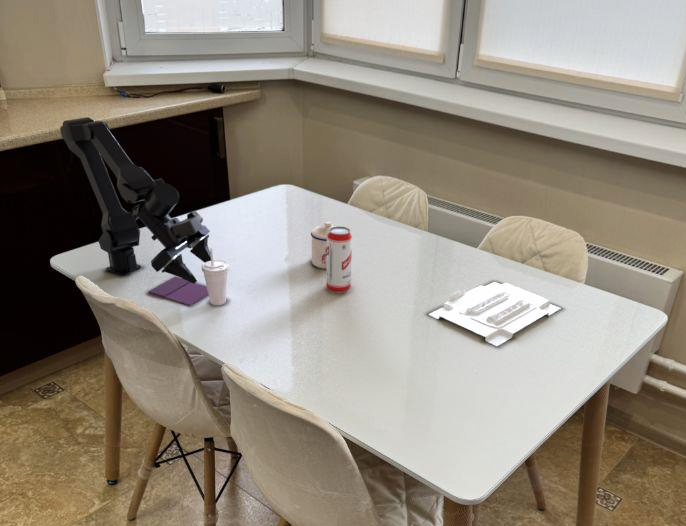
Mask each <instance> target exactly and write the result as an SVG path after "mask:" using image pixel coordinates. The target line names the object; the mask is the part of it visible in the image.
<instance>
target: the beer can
mask: <svg viewBox="0 0 686 526" xmlns="http://www.w3.org/2000/svg"><path fill="white" fill-rule="evenodd" d="M329 231H330V232H329V234H328V235H327V269H326V271H325V272H326V277H325V279H326V280H325V281H326V283H325V285H326V288H327V290H328V291H329V292H331V293H333V294H345V293H347V292H348V291H349V290H350V289H351V286H352V260H353V259H352V258H353V255H352V254H353V235H352V234H351V229H350V228H348V227H345V226H340V225H339V226H335V227H332V228H330V230H329Z"/></svg>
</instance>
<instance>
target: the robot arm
mask: <svg viewBox="0 0 686 526" xmlns="http://www.w3.org/2000/svg"><path fill="white" fill-rule="evenodd" d="M59 131H60V135H61V138H62V140H63V141H64V142H65V144H66V145H67V148H68V149H69V151H71V152H72V153H73V154H75V156H77V157H78V158H79V159H80V162H81V164H82V166H83V169H84V171H85V174H86V176H87V178H88V181H89V183H90V186H91V188H92V191H93V193H94V195H95V197H96V198H95V199H96V200H97V202H98V206H99V208H100V210H101V212H102V219H101V224H100V226H101V231H102V234H101V235H100V237H99V239H98V245H99V247H100V250H102V251H104V252H106V253H107V256H108V262H109V266H108V267H106V268H105V271H106V272H110V273H113V274H117V275H119V276H123V277H124V276H128V274H130V273H133V272H134V271H137V270H139V269H141V267H142V266H141V264H137V257H136V254H135V250H134V249H135V248H134V247H138V246H140V238H141V230H140V228H139V225H138V223H137V222H136V220H138V219H139V220H140V222H141V223H142V224H143V225H144V226H145V227H146V228H147V229H148V230H149V232H150V233H151V234H152V236H151V237H150V238H151V239H152V240H153V241H156V240H157V241H158V242H159V243H160V244H161V245H162V246H163V247H164V248H163V249H161V250H160V251H159V252H158V253H157V254H156V255H155V257H153V258H152V259H151V260H150V265H151V266H150V267H152V269H153V270H154V271H155V272H156V273H158V272H159V271H161V273H166V274H169V275H173V276H174V277H178V278H182V279H184V280H187V281H189V282H191V283H194V284H195V283H196V284H197V282H198V280H197V278H196V276H195V275H194V274H193V273H192V271H191V270H190V269H189V268H188V267H187V265H186V264H185V263H184V261H183V255H182V254H183V253H181V252H182V251H184V250H185V249H187V248H188V249H190V250H189V252H190V253H191V254H192V255H194V256H195V258H198V259H199V260H200V261H201V262H203V264H204V263H205V262H208V261H211V254H210V248H209V244H208V240H209V237H210V234H209V233H210V232H211V230H210V229H209V228H208V227H207V226H206V225H204V224H202V223H203V221H204V217H203V216H201V214H199V212H198V211H196V210H194V211H191V212H189V213H187V214H186V218H185V219H183V220H181V221H180V219H179V218H178V217H171V216H170V215H169V214H170V213H171V212H172V210H174V208H175V206H176V205H177V204H178V203H179V201H180V193H179V191H178V189H176V188H175V187H174V186H173V185H171V184H169V183H166V182H165V181H164V180H163V178H158V179H153V178H152V177H151V175H150V174H149V173H148V172H147V171H146V170H145V169H144V168H143V167H140V166H138V165H136V164H134V163H133V162H132V160H131V159H130V157H129V156H128V155H127V153H126V152H125V150H124V149H123V147H122V146H121V145H120V144H119V142H118V140H117V139H116V138H115V136H114V135H113V134H112V132H111V131H110V127H109V125H108V123H107V122H106V121H102V120H94V119H92V118H91V117H89V116H86V117H79V118H74V119H73V118H72V119H67V120H66V119H65V120H63V122H62V124H61V126H60V128H59ZM105 163H106V165H107V166H108V167H109V169H110V170H111V171H112V172H113V175H115V177H116V187H117V189H118V191H119V194H120V196H121V198H122V199H123V200H124V201H125V202H126V203H128V204H134V203H139V202H141V203H140V204H137V205H136V206H134V207H133V208H132V211H127V210H125V209H124V208H123V207H122V205H121V204H122V203H121V202H120V200H119V198H118V197H119V196H118V195H117V193H116V190H115V187H114V185H113V182H112V181H111V178H110V175H109V173H108V170H107V167H106V165H105ZM179 253H180V254H179ZM178 254H179V255H178Z"/></svg>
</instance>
